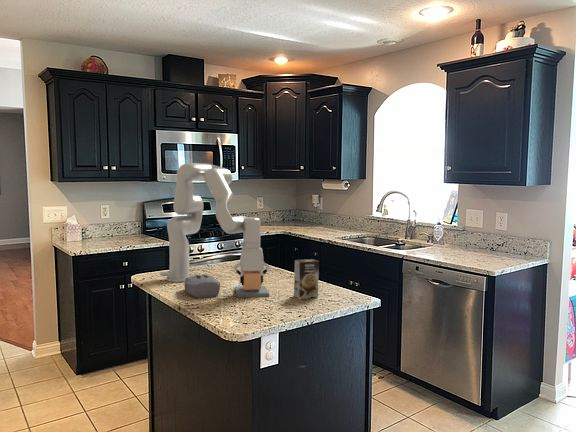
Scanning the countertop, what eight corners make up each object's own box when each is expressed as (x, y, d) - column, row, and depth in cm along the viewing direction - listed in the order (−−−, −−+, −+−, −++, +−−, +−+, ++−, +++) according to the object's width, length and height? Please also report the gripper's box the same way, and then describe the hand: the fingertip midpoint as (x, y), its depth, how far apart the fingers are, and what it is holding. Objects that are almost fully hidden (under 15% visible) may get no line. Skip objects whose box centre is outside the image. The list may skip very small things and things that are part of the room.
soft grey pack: (224, 296, 207) (210, 286, 225) (224, 277, 206) (210, 269, 224) (190, 300, 200) (178, 289, 218) (189, 280, 199) (178, 271, 217)
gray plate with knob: (236, 297, 205) (237, 280, 204) (234, 289, 218) (234, 273, 218) (269, 296, 207) (269, 279, 206) (265, 288, 221) (265, 272, 220)
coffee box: (299, 299, 203) (300, 262, 202) (293, 295, 209) (294, 259, 208) (318, 297, 207) (319, 260, 205) (312, 294, 213) (312, 258, 211)
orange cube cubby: (244, 289, 208) (244, 273, 208) (242, 285, 215) (242, 270, 215) (260, 289, 209) (260, 273, 209) (258, 285, 217) (259, 270, 216)
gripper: (232, 246, 206) (232, 287, 207) (272, 246, 209) (272, 285, 210) (231, 244, 213) (231, 283, 215) (270, 243, 216) (269, 282, 218)
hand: (251, 284), depth 212 cm, fingers closed on orange cube cubby, 7 cm apart
